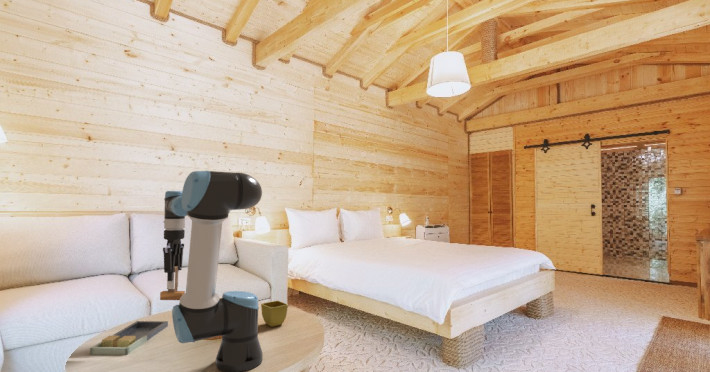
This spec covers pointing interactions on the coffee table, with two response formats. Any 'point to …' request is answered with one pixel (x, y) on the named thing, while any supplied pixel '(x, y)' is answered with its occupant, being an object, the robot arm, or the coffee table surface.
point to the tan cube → (110, 341)
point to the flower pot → (274, 312)
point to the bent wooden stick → (172, 290)
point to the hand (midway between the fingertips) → (172, 287)
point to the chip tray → (117, 348)
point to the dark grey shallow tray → (143, 329)
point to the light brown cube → (126, 341)
